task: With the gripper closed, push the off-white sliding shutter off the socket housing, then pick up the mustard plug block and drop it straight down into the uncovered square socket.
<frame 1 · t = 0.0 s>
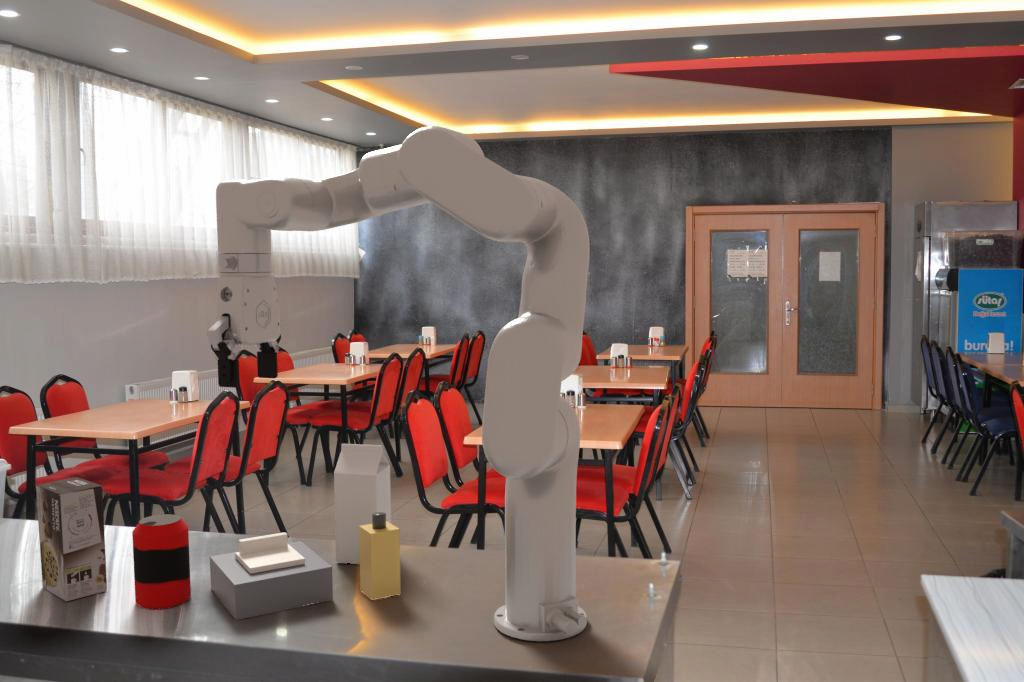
hand: (249, 382, 139), 31 cm above the table, tool pointing down, fingers open, 9 cm apart
soda can: (163, 601, 137), on the table
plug: (380, 593, 139), on the table
socket housing: (270, 594, 139), on the table
shutter: (269, 551, 138), point 6 cm above the table, slide at 0.0 cm
milk carton: (364, 559, 155), on the table
coffee box: (74, 590, 141), on the table
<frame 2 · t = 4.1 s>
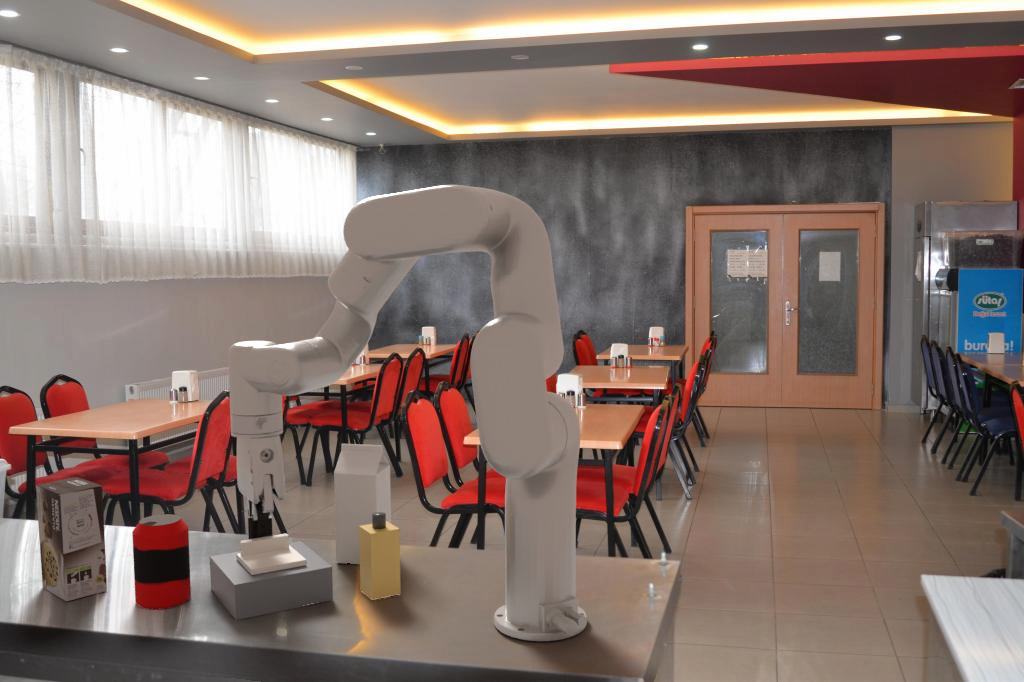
hand: (260, 543, 142), 6 cm above the table, tool pointing down, fingers closed
shutter: (270, 552, 138), point 6 cm above the table, slide at 0.7 cm, touching gripper
everything else where it was.
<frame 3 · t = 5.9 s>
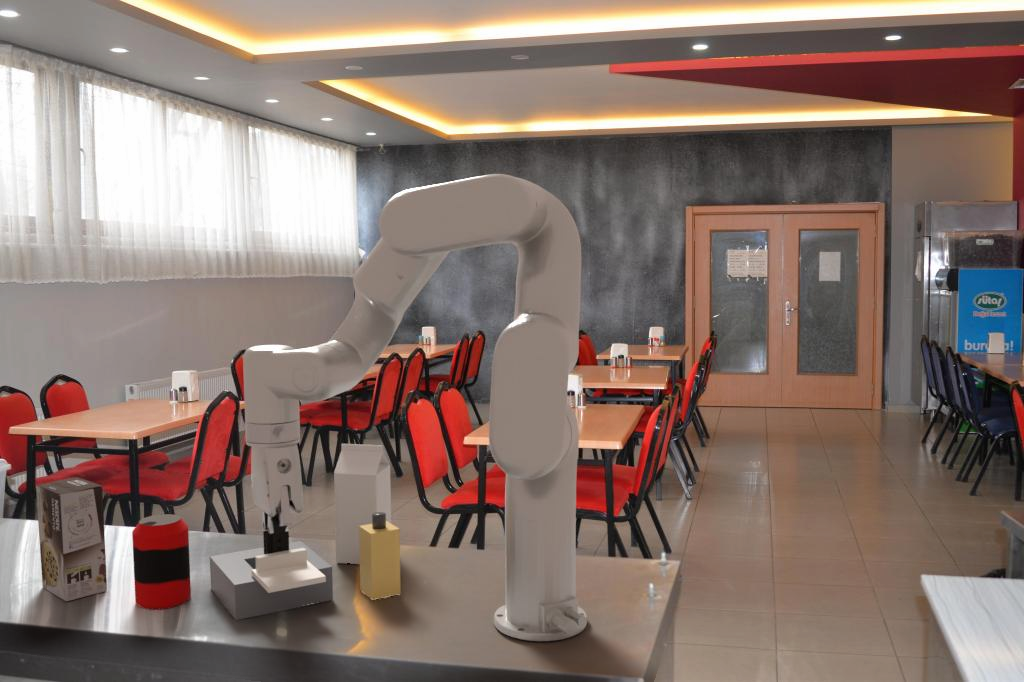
hand: (276, 557, 135), 7 cm above the table, tool pointing down, fingers closed
shutter: (288, 568, 131), point 6 cm above the table, slide at 8.7 cm, touching gripper
everything else where it was.
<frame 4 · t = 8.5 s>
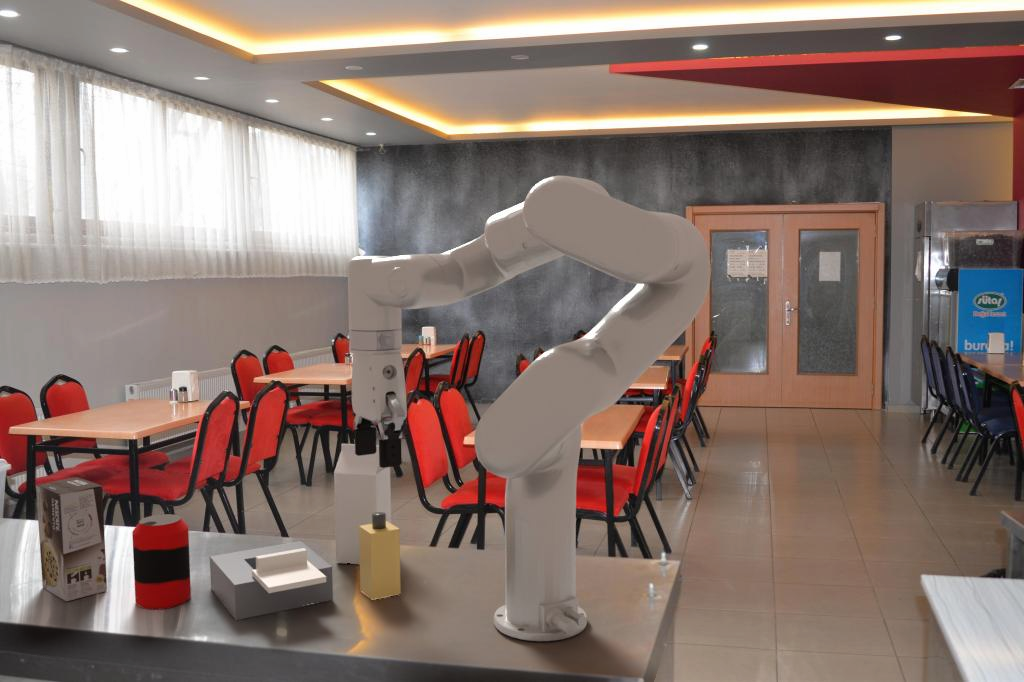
hand: (377, 459, 137), 20 cm above the table, tool pointing down, fingers open, 8 cm apart
shutter: (288, 569, 131), point 6 cm above the table, slide at 8.8 cm
everything else where it was.
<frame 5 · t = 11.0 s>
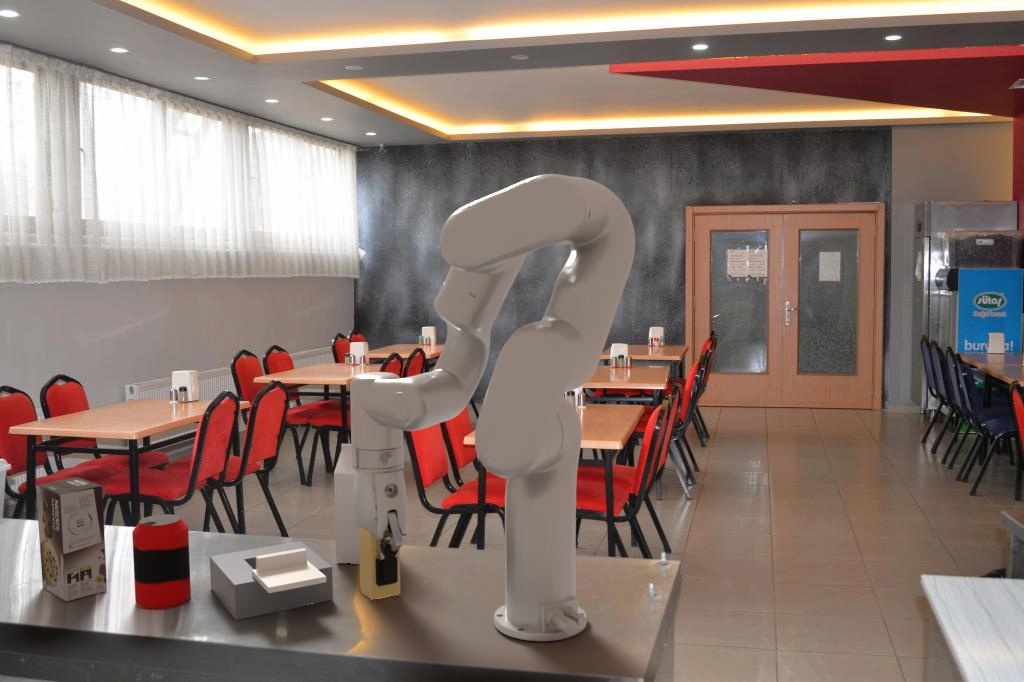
hand: (379, 577, 139), 2 cm above the table, tool pointing down, fingers closed on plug, 4 cm apart
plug: (380, 593, 139), on the table, touching gripper
everything else where it was.
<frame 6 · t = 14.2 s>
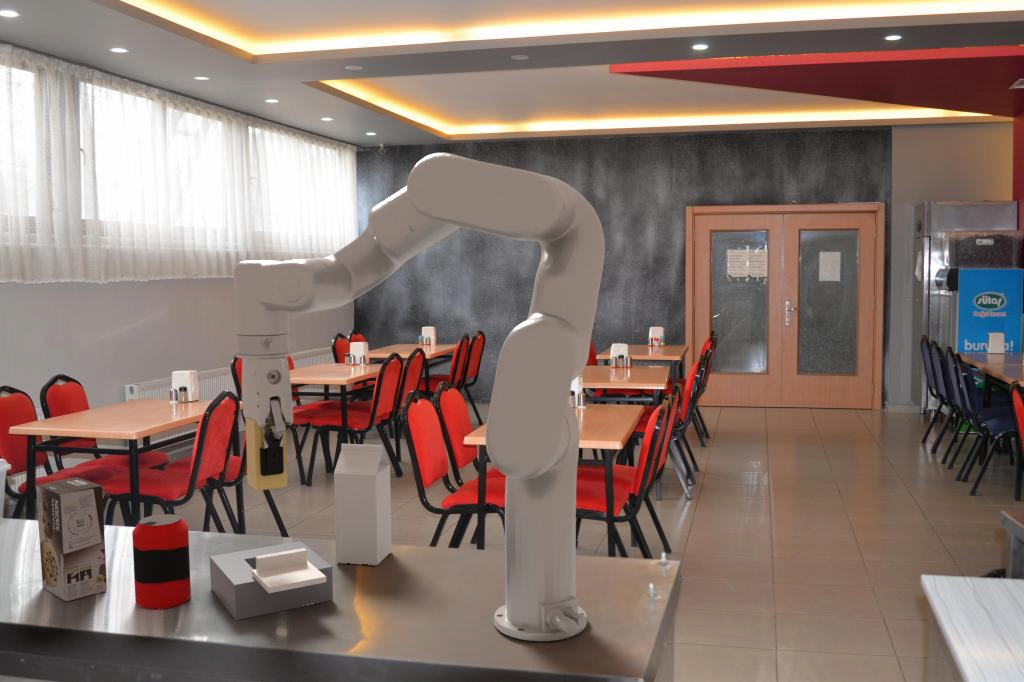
hand: (266, 469, 137), 19 cm above the table, tool pointing down, fingers closed on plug, 4 cm apart
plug: (267, 485, 137), point 16 cm above the table, touching gripper
everything else where it was.
when the fingers open (5 cm above the table, at t = 17.5 s): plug drops 3 cm, resting in socket housing.
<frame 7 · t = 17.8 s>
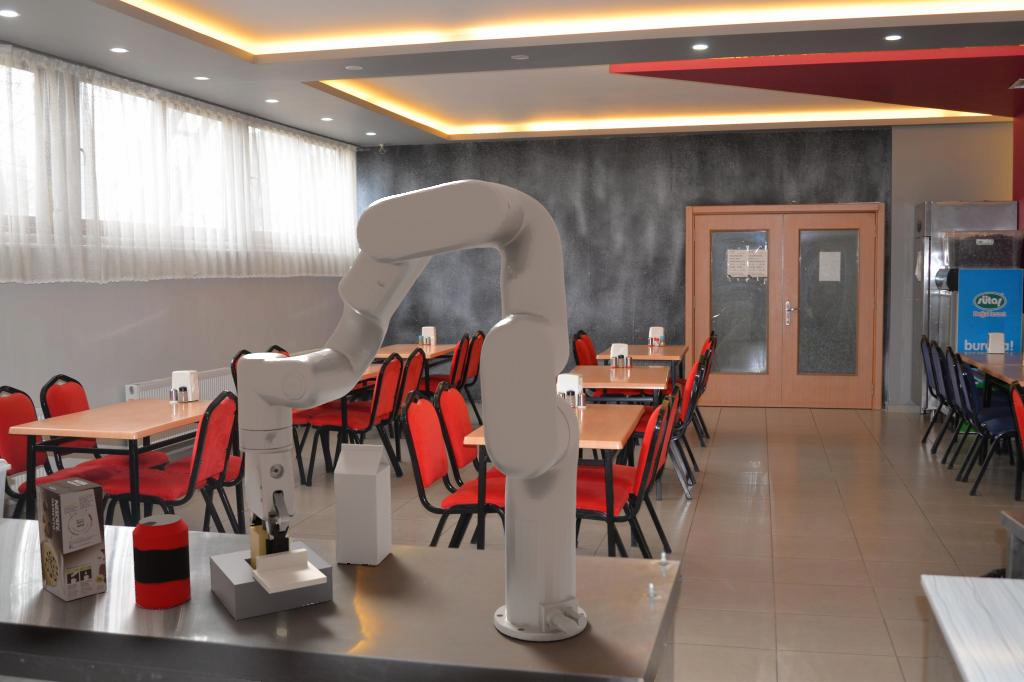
hand: (269, 556, 138), 6 cm above the table, tool pointing down, fingers open, 7 cm apart
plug: (271, 594, 139), resting in socket housing
shutter: (288, 569, 130), point 6 cm above the table, slide at 9.0 cm, touching gripper
everything else where it was.
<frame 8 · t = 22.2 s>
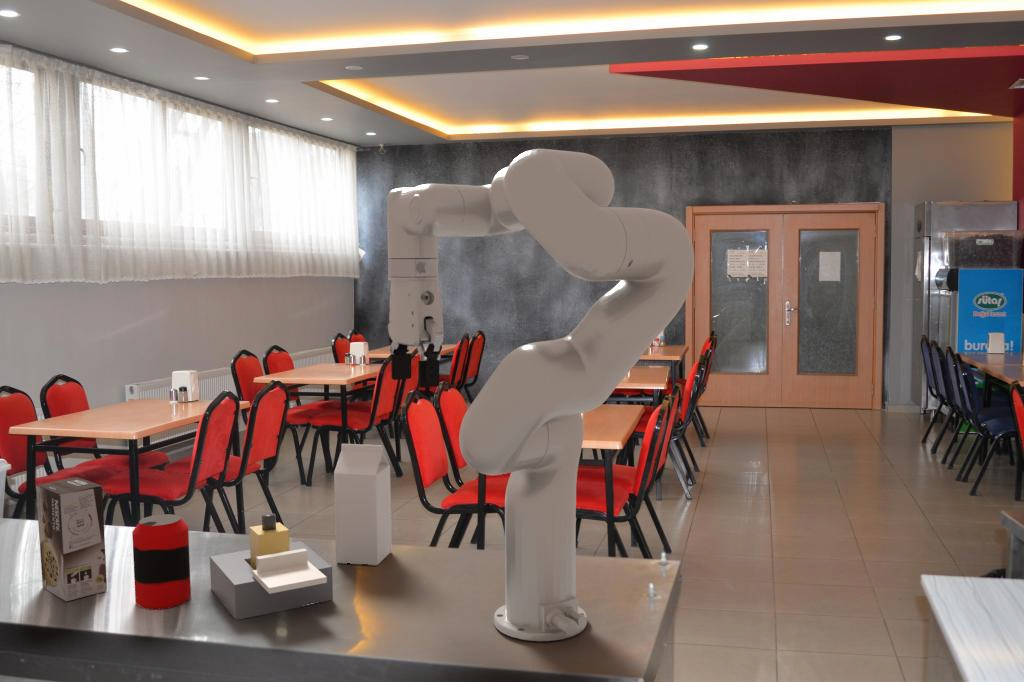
hand: (414, 382, 144), 30 cm above the table, tool pointing down, fingers open, 9 cm apart
shutter: (288, 569, 130), point 6 cm above the table, slide at 9.1 cm
everything else where it was.
at the end: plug 0.1 cm off-centre on the socket housing, point 0.0 cm above the socket housing's base; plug tilted 0°; shutter slide at 9.1 cm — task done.
